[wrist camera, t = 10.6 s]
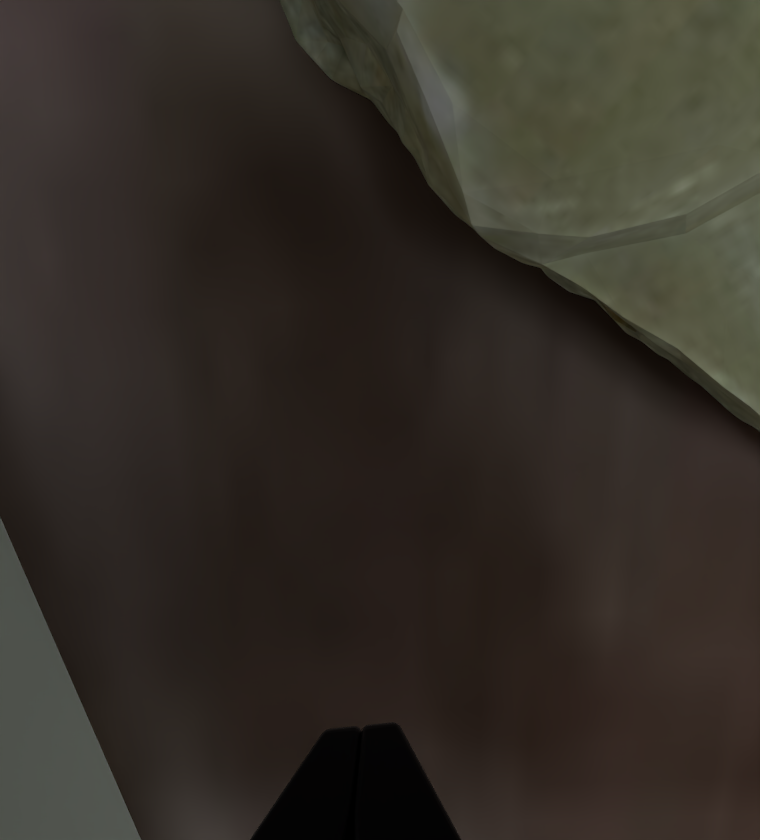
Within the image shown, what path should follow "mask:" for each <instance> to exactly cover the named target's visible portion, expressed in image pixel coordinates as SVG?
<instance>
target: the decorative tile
mask: <svg viewBox="0 0 760 840" xmlns="http://www.w3.org/2000/svg"><path fill="white" fill-rule="evenodd" d="M280 3H281V5H282V8H283V10H284V13H285V15H286V18H287V20H288V22H289V25H290V27H291V30H292V32H293V35H294V37H295V40H296V41H297V43H298V44H299V45H300V46H301V47H302V48H303V49H304V51H305V52H306V53H307V54H308V55H309V56H310V57H311V58H312V59H313V61H314V62H315V63H316V64H317V65H318V66H319V67H320V68H321V69H322V70H323V71H324V73H325V74H326V75H327V76H328V77H329V78H330V79H332V80H333V81H335V82H336V83H338V84H340V85H342V86H344V87H346V88H348V89H350V90H352V91H354V92H356V93H358V94H360V95H362V96H364V97H366V98H368V99H369V100H371V101H372V102H373V103H374V104H375V106H376V107H377V108H378V110H379V111H380V112H381V114H382V115H383V117H384V118H385V119H386V121H387V122H388V123H389V124H390V125H391V126H392V127H393V128H394V129H395V130H396V131H397V133H398V135H399V137H400V139H401V141H402V143H403V144H404V145H405V147H406V148H407V149H408V150H409V151H410V153H411V154H412V155H413V156H414V158H415V160H416V162H417V164H418V166H419V168H420V169H421V171H422V173H423V175H424V177H425V179H426V181H427V183H428V185H429V186H430V187H431V188H432V189H433V191H434V192H435V193H436V194H437V195H438V196H439V197H440V198H441V200H442V201H443V202H444V203H445V204H446V205H447V206H448V207H449V209H450V210H451V211H452V212H453V213H454V214H455V215H456V216H457V217H459V218H460V219H461V220H463V221H464V222H465V223H467V224H468V225H469V226H470V227H472V228H473V229H474V230H475V231H476V232H477V233H478V234H479V235H480V236H481V237H482V238H483V239H484V240H485V241H487V242H488V243H489V244H490V245H491V246H492V247H493V248H495V249H497V250H499V251H501V252H502V253H504V254H506V255H508V256H510V257H512V258H514V259H516V260H518V261H520V262H521V263H523V264H527V265H531V266H535V267H539V268H541V269H542V270H543V271H544V273H545V274H546V275H547V276H548V277H549V278H550V279H552V280H553V281H554V282H556V283H557V284H559V285H560V286H562V287H563V288H565V289H566V290H567V291H569V292H571V293H574V294H577V295H580V296H583V297H586V298H589V299H592V300H594V301H596V302H597V303H598V304H599V305H600V306H601V307H602V308H603V309H604V310H605V311H606V313H607V314H608V315H609V316H610V317H611V318H612V319H613V320H614V321H615V322H616V323H617V324H618V325H619V326H620V327H621V328H622V329H623V330H624V331H625V332H626V333H627V334H629V335H631V336H632V337H634V338H636V339H638V340H640V341H642V342H643V343H644V344H646V345H647V346H648V347H649V348H650V349H652V350H653V351H654V352H655V353H657V354H658V355H660V356H662V357H664V358H666V359H668V360H669V361H670V362H672V363H673V364H674V365H675V366H676V367H677V368H679V369H680V370H681V371H682V372H683V373H684V374H686V375H687V376H688V377H689V378H690V379H692V380H693V381H695V382H697V383H698V384H700V385H701V386H702V387H703V388H704V389H705V390H706V391H707V392H709V393H710V394H711V395H712V396H713V397H714V398H715V399H716V400H717V401H718V402H720V403H721V404H722V405H723V406H724V407H725V408H726V409H727V410H728V411H730V412H731V413H732V414H733V415H735V416H736V417H737V418H739V419H740V420H742V421H743V422H745V423H747V424H749V425H751V426H753V427H754V428H756V429H757V430H758V431H759V432H760V0H280Z"/></svg>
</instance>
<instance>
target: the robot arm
mask: <svg viewBox="0 0 760 840" xmlns="http://www.w3.org/2000/svg"><path fill="white" fill-rule="evenodd" d="M250 840H461V838H460V837H459V835H458V833H457V831H456V829H455V827H454V825H453V824H452V822H451V820H450V818H449V816H448V814H447V812H446V811H445V809H444V807H443V805H442V803H441V801H440V799H439V798H438V796H437V794H436V792H435V790H434V788H433V786H432V785H431V783H430V781H429V779H428V777H427V775H426V773H425V772H424V770H423V768H422V766H421V764H420V762H419V760H418V759H417V757H416V755H415V753H414V751H413V749H412V747H411V746H410V744H409V742H408V740H407V738H406V736H405V734H404V733H403V731H402V729H401V727H400V726H399V725H398V724H397V723H394V722H392V723H382V724H372V725H366V726H365V727H364V728H363V730H362V731H361V730H360V728H358V727H356V726H352V727H343V728H333V729H328V730H326V731H325V732H323V733H322V735H321V736H320V737H319V739H318V740H317V742H316V743H315V745H314V746H313V748H312V749H311V751H310V752H309V754H308V755H307V757H306V758H305V760H304V761H303V763H302V764H301V766H300V767H299V768H298V770H297V771H296V773H295V774H294V776H293V777H292V779H291V780H290V782H289V783H288V785H287V786H286V788H285V789H284V791H283V792H282V794H281V795H280V796H279V798H278V799H277V801H276V802H275V804H274V805H273V807H272V808H271V810H270V811H269V813H268V814H267V816H266V817H265V819H264V820H263V822H262V823H261V825H260V826H259V827H258V829H257V830H256V832H255V833H254V835H253V836H252V838H251V839H250Z"/></svg>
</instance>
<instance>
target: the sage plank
mask: <svg viewBox="0 0 760 840" xmlns="http://www.w3.org/2000/svg"><path fill="white" fill-rule="evenodd" d="M0 840H141V838H140V836H139V834H138V831H137V829H136V827H135V825H134V822H133V820H132V818H131V815H130V813H129V811H128V809H127V806H126V804H125V802H124V799H123V797H122V795H121V793H120V790H119V788H118V786H117V783H116V781H115V779H114V776H113V774H112V772H111V770H110V767H109V765H108V763H107V760H106V758H105V756H104V754H103V751H102V749H101V747H100V744H99V742H98V740H97V738H96V735H95V733H94V731H93V728H92V726H91V724H90V721H89V719H88V717H87V715H86V712H85V710H84V708H83V705H82V703H81V701H80V699H79V696H78V694H77V692H76V689H75V687H74V685H73V683H72V680H71V678H70V676H69V673H68V671H67V669H66V666H65V664H64V662H63V660H62V657H61V655H60V653H59V650H58V648H57V646H56V644H55V641H54V639H53V637H52V634H51V632H50V630H49V628H48V625H47V623H46V621H45V618H44V616H43V614H42V612H41V609H40V607H39V605H38V602H37V600H36V598H35V595H34V593H33V591H32V589H31V586H30V584H29V582H28V579H27V577H26V575H25V573H24V570H23V568H22V566H21V563H20V561H19V559H18V557H17V554H16V552H15V550H14V547H13V545H12V543H11V540H10V538H9V536H8V534H7V531H6V529H5V527H4V524H3V522H2V520H1V518H0Z"/></svg>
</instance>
